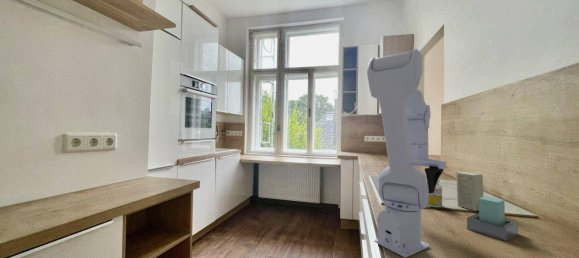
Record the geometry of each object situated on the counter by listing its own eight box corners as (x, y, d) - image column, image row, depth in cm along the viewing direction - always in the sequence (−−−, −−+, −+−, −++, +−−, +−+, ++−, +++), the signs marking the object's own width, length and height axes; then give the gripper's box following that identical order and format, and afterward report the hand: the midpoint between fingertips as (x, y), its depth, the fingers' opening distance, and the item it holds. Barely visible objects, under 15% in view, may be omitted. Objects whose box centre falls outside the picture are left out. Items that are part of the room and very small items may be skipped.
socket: (506, 241, 54) (506, 228, 54) (467, 228, 61) (466, 217, 61) (518, 233, 58) (517, 222, 58) (480, 222, 65) (479, 212, 65)
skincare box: (484, 210, 75) (484, 174, 75) (475, 211, 74) (474, 175, 74) (465, 204, 81) (464, 171, 81) (456, 205, 80) (455, 171, 80)
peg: (498, 234, 57) (498, 202, 57) (479, 228, 60) (478, 198, 60) (504, 230, 58) (504, 200, 59) (485, 225, 62) (485, 196, 62)
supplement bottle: (425, 201, 84) (425, 176, 85) (442, 204, 81) (442, 178, 81) (423, 205, 80) (423, 178, 80) (441, 208, 77) (441, 180, 77)
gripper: (451, 144, 62) (451, 193, 61) (402, 142, 74) (402, 183, 74) (437, 145, 58) (438, 197, 58) (388, 143, 71) (389, 185, 70)
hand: (417, 189), depth 66 cm, fingers open, 7 cm apart
